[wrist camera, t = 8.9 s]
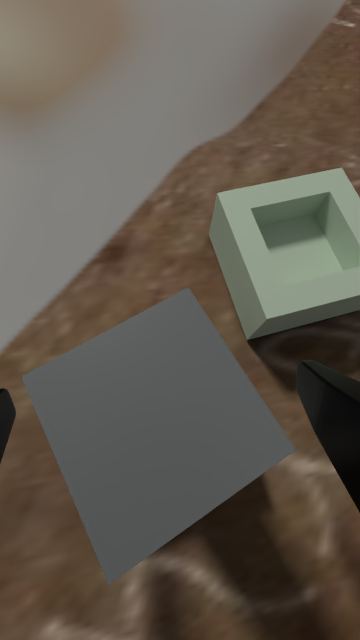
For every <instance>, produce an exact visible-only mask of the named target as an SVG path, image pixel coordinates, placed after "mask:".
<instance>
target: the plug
mask: <svg viewBox="0 0 360 640" xmlns="http://www.w3.org/2000/svg"><path fill="white" fill-rule="evenodd" d="M22 379H23V382H24V384H25V386H26V389H27V391H28V394H29V396H30V398H31V401H32V403H33V406H34V408H35V410H36V413H37V415H38V417H39V420H40V422H41V425H42V427H43V429H44V432H45V434H46V437H47V439H48V441H49V444H50V446H51V448H52V451H53V453H54V456H55V458H56V460H57V463H58V465H59V467H60V470H61V472H62V475H63V477H64V479H65V482H66V484H67V487H68V489H69V491H70V494H71V496H72V498H73V501H74V503H75V506H76V508H77V510H78V513H79V515H80V518H81V520H82V522H83V525H84V527H85V529H86V532H87V534H88V537H89V539H90V541H91V544H92V546H93V548H94V551H95V553H96V556H97V558H98V560H99V563H100V565H101V568H102V570H103V572H104V575H105V577H106V579H107V582H108V584H110V583H112V582H113V581H114V580H116V579H117V578H119V577H120V576H121V575H123V574H124V573H126V572H127V571H128V570H130V569H131V568H133V567H134V566H135V565H137V564H138V563H139V562H141V561H142V560H144V559H145V558H146V557H148V556H149V555H151V554H152V553H153V552H155V551H156V550H158V549H159V548H160V547H162V546H163V545H164V544H166V543H167V542H169V541H170V540H171V539H173V538H174V537H176V536H177V535H178V534H180V533H181V532H183V531H184V530H185V529H187V528H188V527H189V526H191V525H192V524H194V523H195V522H196V521H198V520H199V519H201V518H202V517H203V516H205V515H206V514H208V513H209V512H210V511H212V510H213V509H214V508H216V507H217V506H219V505H220V504H221V503H223V502H224V501H226V500H227V499H228V498H230V497H231V496H232V495H234V494H235V493H237V492H238V491H239V490H241V489H242V488H244V487H245V486H246V485H248V484H249V483H251V482H252V481H253V480H255V479H256V478H257V477H259V476H260V475H262V474H263V473H264V472H266V471H267V470H269V469H270V468H271V467H273V466H274V465H276V464H277V463H278V462H280V461H281V460H282V459H284V458H285V457H287V456H288V455H289V454H291V453H292V452H294V451H295V450H296V449H295V448H294V446H293V445H292V443H291V442H290V440H289V439H288V437H287V435H286V434H285V432H284V431H283V429H282V428H281V426H280V425H279V423H278V422H277V420H276V419H275V417H274V416H273V414H272V413H271V411H270V410H269V408H268V407H267V405H266V404H265V402H264V401H263V399H262V398H261V396H260V395H259V393H258V392H257V390H256V389H255V387H254V386H253V384H252V383H251V381H250V380H249V378H248V377H247V375H246V374H245V372H244V371H243V369H242V368H241V366H240V365H239V363H238V362H237V360H236V359H235V357H234V356H233V354H232V353H231V351H230V350H229V348H228V347H227V345H226V344H225V342H224V340H223V339H222V337H221V336H220V334H219V333H218V331H217V330H216V328H215V327H214V325H213V324H212V322H211V321H210V319H209V318H208V316H207V315H206V313H205V312H204V310H203V309H202V307H201V306H200V304H199V303H198V301H197V300H196V298H195V297H194V295H193V294H192V292H191V291H190V289H189V288H186V289H184V290H182V291H180V292H179V293H177V294H175V295H173V296H171V297H169V298H167V299H165V300H164V301H162V302H160V303H158V304H156V305H154V306H152V307H150V308H149V309H147V310H145V311H143V312H141V313H139V314H137V315H136V316H134V317H132V318H130V319H128V320H126V321H124V322H122V323H121V324H119V325H117V326H115V327H113V328H111V329H109V330H108V331H106V332H104V333H102V334H100V335H98V336H96V337H94V338H93V339H91V340H89V341H87V342H85V343H83V344H81V345H79V346H78V347H76V348H74V349H72V350H70V351H68V352H66V353H65V354H63V355H61V356H59V357H57V358H55V359H53V360H51V361H50V362H48V363H46V364H44V365H42V366H40V367H38V368H37V369H35V370H33V371H31V372H29V373H27V374H25V375H23V376H22Z"/></svg>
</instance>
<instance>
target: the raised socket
mask: <svg viewBox="0 0 360 640" xmlns="http://www.w3.org/2000/svg"><path fill="white" fill-rule="evenodd" d="M209 237H210V239H211V242H212V245H213V248H214V250H215V253H216V256H217V259H218V262H219V264H220V267H221V270H222V273H223V275H224V278H225V281H226V284H227V286H228V289H229V292H230V295H231V298H232V300H233V303H234V306H235V309H236V311H237V314H238V317H239V320H240V323H241V325H242V328H243V331H244V334H245V336H246V339H247V340H249V339H253V338H257V337H261V336H264V335H268V334H272V333H276V332H279V331H283V330H287V329H291V328H294V327H298V326H302V325H306V324H309V323H313V322H317V321H321V320H324V319H328V318H332V317H336V316H339V315H343V314H347V313H351V312H354V311H358V310H360V198H359V196H358V194H357V193H356V191H355V189H354V188H353V186H352V184H351V183H350V181H349V179H348V177H347V176H346V174H345V172H344V171H343V169H342V168H338V169H333V170H328V171H323V172H318V173H313V174H308V175H304V176H299V177H294V178H289V179H284V180H279V181H274V182H269V183H264V184H260V185H255V186H250V187H245V188H240V189H235V190H230V191H225V192H220V193H217V197H216V202H215V207H214V212H213V217H212V222H211V227H210V232H209Z"/></svg>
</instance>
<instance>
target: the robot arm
mask: <svg viewBox="0 0 360 640" xmlns="http://www.w3.org/2000/svg"><path fill="white" fill-rule="evenodd" d="M295 387H296V390H297V393H298V395H299V397H300V400H301V402H302V404H303V407H304V409H305V411H306V414H307V416H308V418H309V421H310V423H311V425H312V427H313V429H314V432H315V434H316V435H317V437H318V439H319V441H320V443H321V445H322V446H323V448H324V450H325V452H326V453H327V455H328V457H329V459H330V461H331V462H332V464H333V466H334V468H335V469H336V471H337V473H338V475H339V476H340V478H341V480H342V482H343V484H344V485H345V487H346V489H347V491H348V492H349V494H350V496H351V498H352V500H353V501H354V503H355V505H356V507H357V508H358V510H359V512H360V382H359V381H357V380H355V379H353V378H350V377H348V376H346V375H344V374H342V373H340V372H337V371H335V370H333V369H331V368H329V367H327V366H324V365H322V364H320V363H318V362H316V361H313V360H307V361H300V362H299V364H298V367H297V373H296V380H295ZM15 416H16V410H15V407H14V404H13V402H12V399H11V397H10V394H9V392H8V390H7V389H4V388H2V389H0V463H1V460H2V457H3V454H4V451H5V448H6V445H7V442H8V438H9V435H10V432H11V429H12V426H13V423H14V420H15Z"/></svg>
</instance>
